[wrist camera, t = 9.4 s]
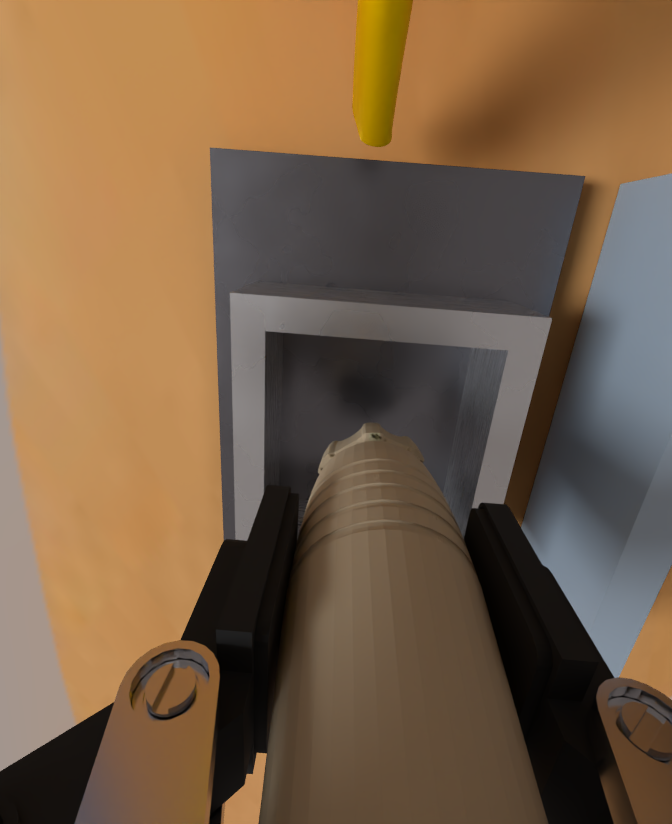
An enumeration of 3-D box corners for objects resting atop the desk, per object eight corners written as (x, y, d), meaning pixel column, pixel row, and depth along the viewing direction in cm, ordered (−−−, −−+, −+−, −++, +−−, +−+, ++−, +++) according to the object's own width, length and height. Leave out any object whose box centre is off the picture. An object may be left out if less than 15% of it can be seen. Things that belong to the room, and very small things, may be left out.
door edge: (620, 183, 14) (787, 149, 9) (667, 187, 14) (865, 155, 9) (503, 589, 21) (556, 713, 16) (535, 592, 21) (599, 717, 16)
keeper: (219, 153, 15) (165, 118, 10) (570, 180, 14) (658, 156, 10) (230, 566, 21) (201, 645, 17) (469, 586, 21) (497, 671, 17)
